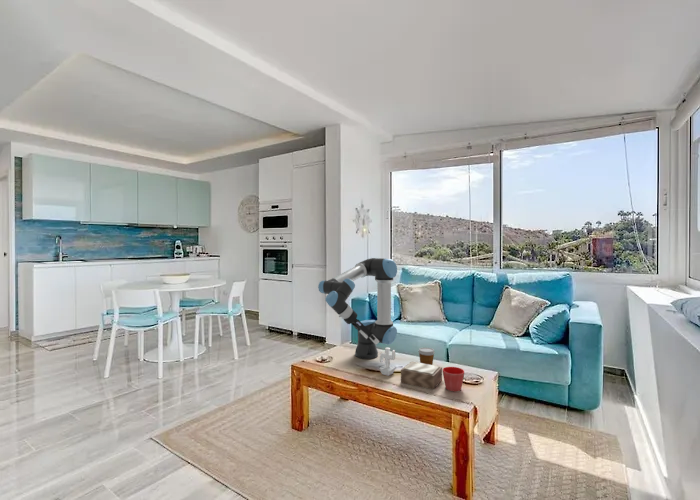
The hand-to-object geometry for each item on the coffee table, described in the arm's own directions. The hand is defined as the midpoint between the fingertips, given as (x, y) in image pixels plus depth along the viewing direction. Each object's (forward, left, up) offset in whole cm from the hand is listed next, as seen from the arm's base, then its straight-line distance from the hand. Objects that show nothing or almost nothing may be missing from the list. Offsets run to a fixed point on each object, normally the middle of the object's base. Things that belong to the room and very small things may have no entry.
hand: (372, 340), depth 208 cm
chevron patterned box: (+27, +7, -20) cm, 34 cm away
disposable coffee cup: (+23, +25, -21) cm, 40 cm away
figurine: (+6, +7, -21) cm, 22 cm away
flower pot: (+44, +5, -21) cm, 49 cm away
